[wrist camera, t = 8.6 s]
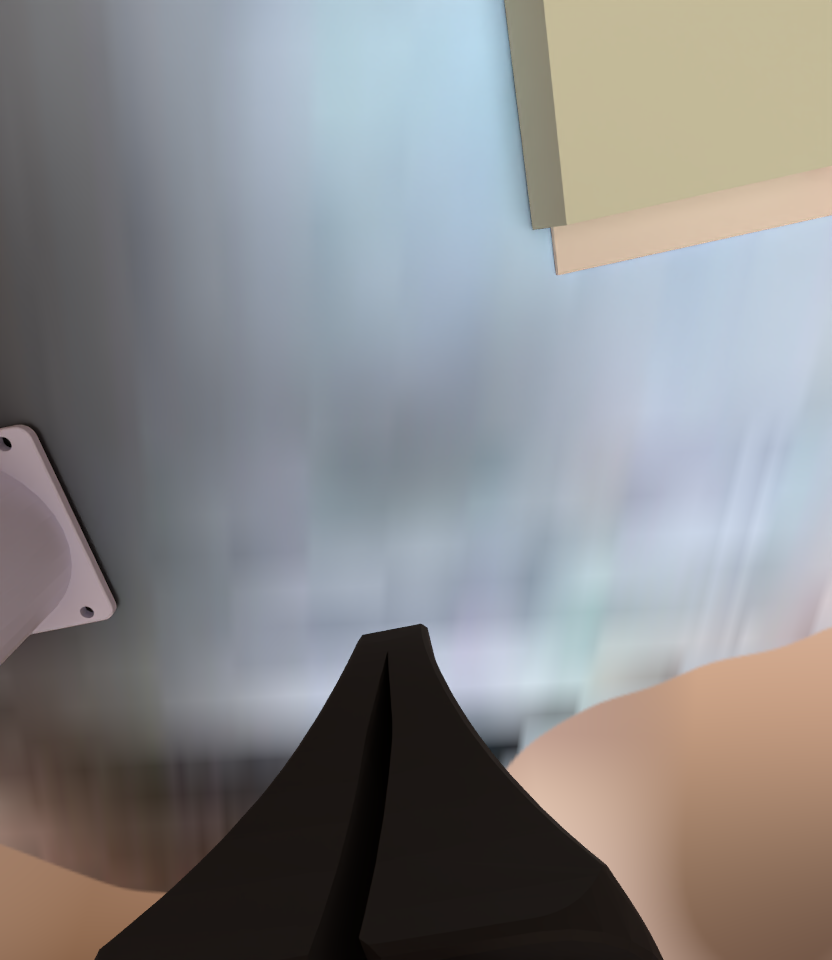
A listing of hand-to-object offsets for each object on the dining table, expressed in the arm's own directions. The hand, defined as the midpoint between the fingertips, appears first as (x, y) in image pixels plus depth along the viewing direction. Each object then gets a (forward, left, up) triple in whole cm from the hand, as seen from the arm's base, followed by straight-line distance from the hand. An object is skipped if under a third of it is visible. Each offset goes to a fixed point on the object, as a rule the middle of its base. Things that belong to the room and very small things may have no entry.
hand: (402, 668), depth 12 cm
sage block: (+6, +11, -8) cm, 15 cm away
